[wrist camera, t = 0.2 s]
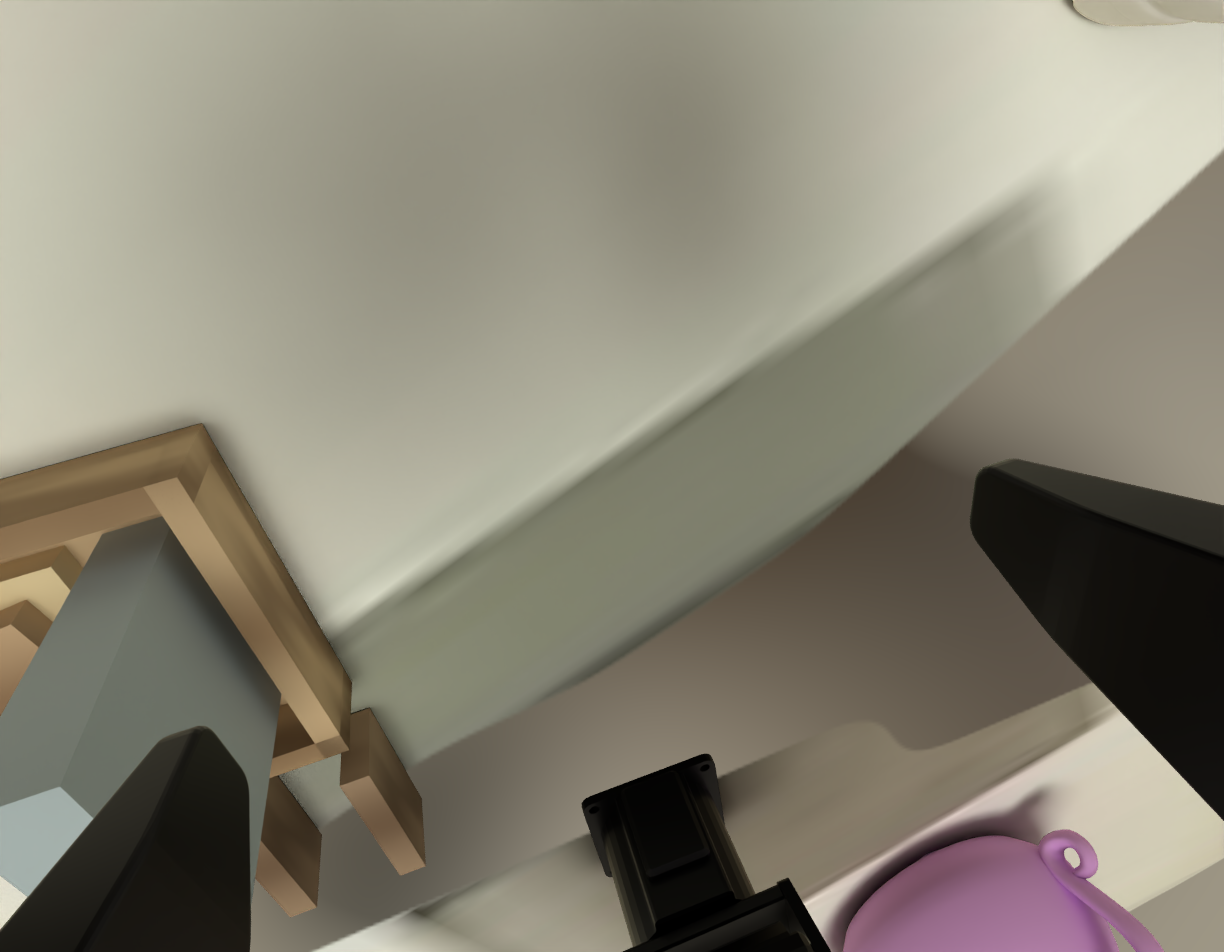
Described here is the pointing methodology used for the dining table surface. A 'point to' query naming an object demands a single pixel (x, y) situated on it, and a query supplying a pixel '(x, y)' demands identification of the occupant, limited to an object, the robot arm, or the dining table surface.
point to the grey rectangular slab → (125, 696)
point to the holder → (376, 797)
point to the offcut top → (18, 644)
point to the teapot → (996, 902)
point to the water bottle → (1150, 11)
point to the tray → (219, 547)
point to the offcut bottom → (39, 580)
